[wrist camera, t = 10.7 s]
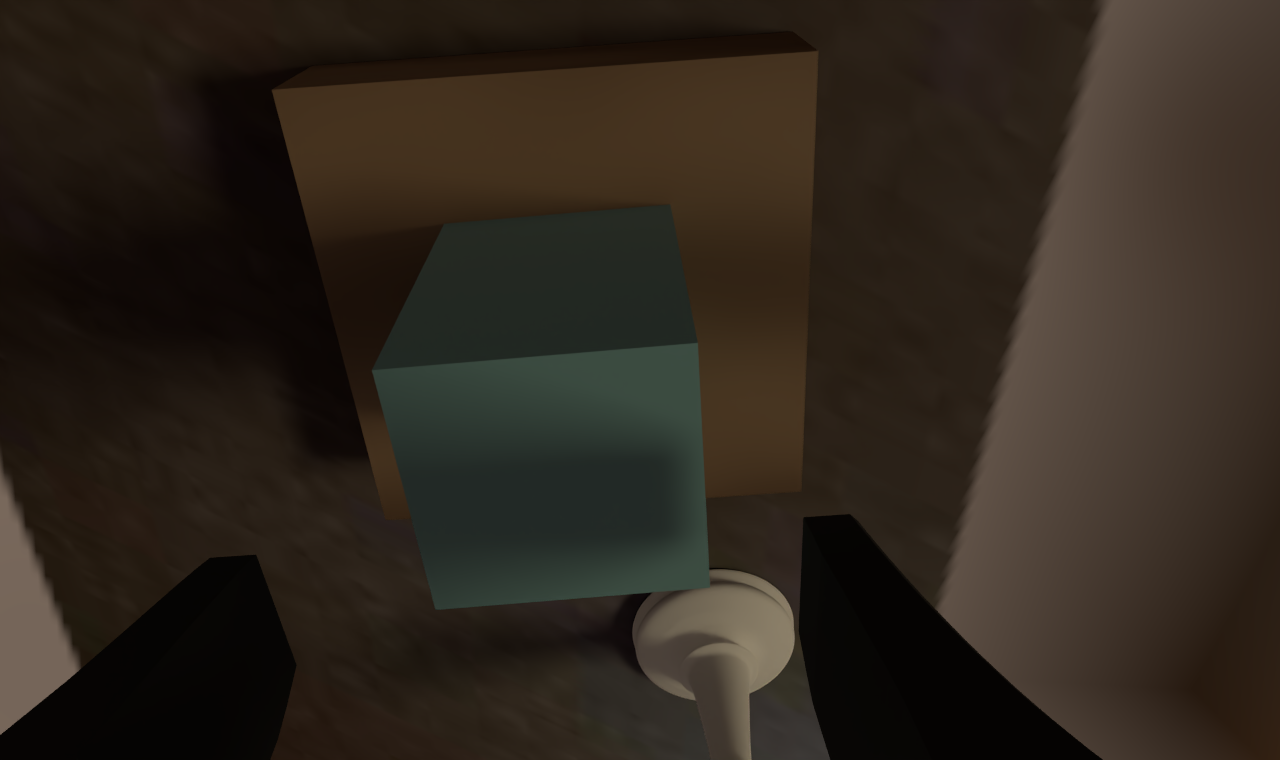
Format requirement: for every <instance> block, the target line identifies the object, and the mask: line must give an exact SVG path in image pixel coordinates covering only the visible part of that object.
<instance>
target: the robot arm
mask: <svg viewBox="0 0 1280 760" xmlns="http://www.w3.org/2000/svg"><path fill="white" fill-rule="evenodd" d="M799 635H800V640H801V646H802V651H803V656H804V661H805V667H806V672H807V677H808V682H809V687H810V692H811V696H812V701H813V705H814V709H815V712H816V715H817V718H818V722H819V725H820V728H821V731H822V734H823V738H824V741H825V744H826V747H827V750H828V754H829V757H830V760H1102V759H1101V758H1100V757H1099V756H1097V755H1096V754H1095V753H1093V752H1092V751H1090V750H1089V749H1088V748H1087V747H1086V746H1084V745H1083V744H1082V743H1081V742H1079V741H1078V740H1077V739H1075V738H1074V737H1073V736H1072V735H1071V734H1069V733H1068V732H1067V731H1066V730H1065V729H1063V728H1062V727H1061V726H1060V725H1058V724H1057V723H1056V722H1055V721H1054V720H1052V719H1051V718H1050V717H1049V716H1048V715H1046V714H1045V713H1044V712H1043V711H1042V710H1041V709H1039V708H1038V707H1037V706H1036V705H1035V704H1034V703H1032V702H1031V701H1030V700H1029V699H1028V698H1027V697H1026V696H1024V695H1023V694H1022V693H1021V692H1020V691H1019V690H1018V689H1016V688H1015V687H1014V686H1013V685H1012V684H1011V683H1010V682H1009V681H1008V680H1007V679H1006V678H1005V677H1004V676H1002V675H1001V674H1000V673H999V672H998V671H997V670H996V669H995V668H994V667H993V666H992V665H991V664H990V663H989V662H987V661H986V660H985V659H984V658H983V657H982V656H981V655H980V654H979V653H978V652H977V651H976V650H975V649H974V648H973V647H972V646H971V645H970V644H969V643H968V642H967V641H966V640H965V639H964V638H963V637H962V636H961V635H960V634H959V633H958V632H957V631H956V630H955V629H954V628H953V627H952V626H951V625H950V624H949V623H948V622H947V621H946V620H945V619H944V618H943V617H942V616H941V615H940V614H939V613H938V611H937V610H936V609H935V608H934V607H933V606H932V605H931V604H930V603H929V602H928V601H927V600H926V599H925V598H924V597H923V596H922V595H921V594H920V592H919V591H918V590H917V589H916V588H915V587H914V586H913V585H912V584H911V583H910V581H909V580H908V579H907V578H906V577H905V576H904V575H903V574H902V572H901V571H900V570H899V569H898V568H897V567H896V566H895V565H894V563H893V562H892V561H891V560H890V559H889V558H888V557H887V555H886V554H885V553H884V552H883V551H882V550H881V548H880V547H879V546H878V545H877V544H876V542H875V541H874V540H873V539H872V538H871V536H870V535H869V534H868V533H867V532H866V530H865V529H864V528H863V527H862V526H861V524H860V523H859V522H858V521H857V520H856V519H855V518H854V517H853V516H851V515H850V514H847V515H832V516H817V517H804V519H803V543H802V566H801V589H800V613H799ZM295 669H296V662H295V660H294V657H293V654H292V652H291V649H290V646H289V643H288V641H287V638H286V635H285V632H284V630H283V627H282V624H281V621H280V619H279V616H278V613H277V611H276V608H275V605H274V602H273V600H272V597H271V594H270V591H269V589H268V586H267V583H266V581H265V578H264V575H263V572H262V570H261V567H260V564H259V561H258V559H257V556H256V555H246V556H231V557H216V558H209V559H208V560H207V561H206V562H204V563H203V564H202V565H201V566H199V567H198V568H197V569H196V570H194V571H193V572H192V573H191V574H190V575H188V576H187V577H186V578H185V579H184V580H182V581H181V582H180V583H179V584H178V585H177V586H175V587H174V588H173V589H172V590H171V591H170V592H169V593H167V594H166V595H165V596H164V597H163V598H162V599H161V600H159V601H158V602H157V603H156V604H155V605H154V606H153V607H151V608H150V609H149V610H148V611H147V612H146V613H145V614H144V615H142V616H141V617H140V618H139V619H138V620H137V621H136V622H134V623H133V624H132V625H131V626H130V627H129V628H128V629H126V630H125V631H124V632H123V633H122V634H121V635H120V636H118V637H117V638H116V639H115V640H114V641H113V642H111V643H110V644H109V645H108V646H107V647H106V648H105V649H103V650H102V651H101V652H100V653H99V654H98V655H96V656H95V657H94V658H93V659H92V660H91V661H90V662H88V663H87V664H86V665H85V666H84V667H83V668H81V669H80V670H79V671H78V672H77V673H76V674H75V675H73V676H72V677H71V678H70V679H69V680H67V682H65V683H64V684H63V685H61V686H60V687H59V688H58V689H56V690H55V691H54V692H53V693H52V694H50V695H49V696H48V697H47V698H45V699H44V700H43V701H42V702H40V703H39V704H38V705H37V706H36V707H34V708H33V709H32V710H31V711H29V712H28V713H27V714H26V715H24V716H23V717H22V718H21V719H20V720H18V721H17V722H16V723H14V725H12V726H11V727H10V728H8V729H7V730H6V731H5V732H3V733H2V734H1V735H0V760H270V759H271V756H272V753H273V751H274V748H275V745H276V743H277V740H278V736H279V733H280V729H281V725H282V722H283V718H284V714H285V711H286V707H287V703H288V699H289V694H290V690H291V686H292V682H293V678H294V673H295Z"/></svg>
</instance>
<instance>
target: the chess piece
mask: <svg viewBox="0 0 1280 760" xmlns="http://www.w3.org/2000/svg"><path fill="white" fill-rule="evenodd" d="M709 578H710V588H700V589H687V590H675V591H663V592H652V593H651V594H650V595H649V596H648V597H647V598H646V600H645V601H644V602H643V603H642V605H641V606H640V608H639V610H638V611H637V613H636V616H635V619H634V622H633V628H632V637H633V643H634V646H635V650H636V656H637V660H638V662H639V665H640V667H641V668H642V670H643V672H644V673H645V674H646V676H647V677H648V678H649V679H650V680H651V681H652V682H653V683H655V684H656V685H657V686H659V687H660V688H662V689H663V690H665V691H667V692H669V693H671V694H674V695H676V696H679V697H683V698H687V699H692V700H696V703H697V707H698V710H699V714H700V718H701V722H702V725H703V729H704V733H705V737H706V741H707V745H708V749H709V754H710V759H711V760H751V747H750V716H749V693H751V692H754V691H756V690H758V689H760V688H761V687H763V686H765V685H766V684H768V683H769V682H770V681H772V680H773V679H774V678H775V677H776V676H777V675H778V674H779V673H780V672H781V671H782V670H783V668H784V667H785V666H786V664H787V662H788V661H789V659H790V656H791V654H792V651H793V647H794V629H793V628H794V621H793V614H792V611H791V608H790V605H789V604H788V602H787V600H786V599H785V597H784V596H783V595H782V593H781V592H780V591H779V590H778V589H776V588H775V587H774V586H773V585H771V584H770V583H769V582H767V581H765V580H763V579H761V578H759V577H757V576H755V575H752V574H749V573H745V572H741V571H736V570H728V569H709Z"/></svg>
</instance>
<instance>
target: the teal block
mask: <svg viewBox="0 0 1280 760" xmlns="http://www.w3.org/2000/svg"><path fill="white" fill-rule="evenodd" d="M372 373H373V376H374V380H375V384H376V388H377V391H378V395H379V399H380V403H381V406H382V410H383V414H384V418H385V421H386V425H387V429H388V433H389V436H390V440H391V444H392V448H393V451H394V455H395V459H396V463H397V466H398V470H399V474H400V478H401V482H402V485H403V489H404V493H405V497H406V500H407V504H408V508H409V512H410V515H411V519H412V523H413V527H414V530H415V534H416V538H417V542H418V545H419V549H420V553H421V557H422V560H423V564H424V568H425V572H426V575H427V579H428V583H429V587H430V590H431V594H432V598H433V602H434V605H435V609H436V610H440V609H452V608H464V607H477V606H489V605H502V604H514V603H526V602H539V601H551V600H563V599H576V598H588V597H601V596H613V595H625V594H638V593H650V592H663V591H675V590H687V589H700V588H710V578H709V558H708V538H707V518H706V497H705V477H704V457H703V437H702V417H701V397H700V376H699V356H698V341H697V336H696V331H695V326H694V321H693V316H692V311H691V306H690V301H689V296H688V291H687V286H686V281H685V276H684V271H683V266H682V261H681V256H680V250H679V245H678V240H677V235H676V230H675V225H674V220H673V215H672V210H671V205H658V206H646V207H635V208H623V209H611V210H599V211H588V212H576V213H564V214H553V215H541V216H529V217H518V218H506V219H494V220H482V221H471V222H459V223H447V224H444V225H443V227H442V229H441V231H440V233H439V235H438V237H437V239H436V241H435V243H434V245H433V247H432V250H431V252H430V254H429V256H428V258H427V260H426V262H425V264H424V266H423V268H422V270H421V272H420V274H419V276H418V278H417V280H416V282H415V284H414V286H413V288H412V290H411V292H410V294H409V296H408V298H407V300H406V302H405V304H404V306H403V308H402V310H401V312H400V314H399V316H398V318H397V320H396V322H395V324H394V326H393V328H392V331H391V333H390V335H389V337H388V339H387V341H386V343H385V345H384V347H383V349H382V351H381V353H380V355H379V357H378V359H377V361H376V363H375V365H374V367H373V369H372Z"/></svg>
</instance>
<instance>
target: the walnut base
mask: <svg viewBox="0 0 1280 760" xmlns="http://www.w3.org/2000/svg"><path fill="white" fill-rule="evenodd" d="M817 74H818V50H816V49H815V48H814V47H812V46H811V45H810V44H808V43H807V42H806V41H804V40H803V39H802V38H801V37H799V36H798V35H797V34H795V33H794V32H780V33H766V34H752V35H738V36H724V37H710V38H696V39H682V40H668V41H653V42H639V43H625V44H611V45H597V46H583V47H569V48H555V49H540V50H526V51H512V52H498V53H484V54H470V55H456V56H442V57H427V58H413V59H399V60H385V61H371V62H357V63H343V64H329V65H314V66H311V67H309V68H308V69H306V70H304V71H303V72H301V73H299V74H298V75H296V76H294V77H292V78H291V79H289V80H287V81H286V82H284V83H282V84H281V85H279V86H277V87H275V88H274V89H272V93H273V97H274V100H275V104H276V108H277V112H278V115H279V119H280V123H281V127H282V131H283V134H284V138H285V142H286V146H287V149H288V153H289V157H290V161H291V164H292V168H293V172H294V176H295V180H296V183H297V187H298V191H299V195H300V198H301V202H302V206H303V210H304V214H305V217H306V221H307V225H308V229H309V232H310V236H311V240H312V244H313V247H314V251H315V255H316V259H317V263H318V266H319V270H320V274H321V278H322V281H323V285H324V289H325V293H326V297H327V300H328V304H329V308H330V312H331V315H332V319H333V323H334V327H335V330H336V334H337V338H338V342H339V346H340V349H341V353H342V357H343V361H344V364H345V368H346V372H347V376H348V380H349V383H350V387H351V391H352V395H353V398H354V402H355V406H356V410H357V413H358V417H359V421H360V425H361V429H362V432H363V436H364V440H365V444H366V447H367V451H368V455H369V459H370V462H371V466H372V470H373V474H374V478H375V481H376V485H377V489H378V493H379V496H380V500H381V504H382V508H383V512H384V515H385V519H386V520H395V519H410V518H411V515H410V512H409V508H408V504H407V500H406V497H405V493H404V489H403V485H402V482H401V478H400V474H399V470H398V466H397V463H396V459H395V455H394V451H393V448H392V444H391V440H390V436H389V433H388V429H387V425H386V421H385V418H384V414H383V410H382V406H381V403H380V399H379V395H378V391H377V388H376V384H375V380H374V376H373V373H372V369H373V367H374V365H375V363H376V361H377V359H378V357H379V355H380V353H381V351H382V349H383V347H384V345H385V343H386V341H387V339H388V337H389V335H390V333H391V331H392V328H393V326H394V324H395V322H396V320H397V318H398V316H399V314H400V312H401V310H402V308H403V306H404V304H405V302H406V300H407V298H408V296H409V294H410V292H411V290H412V288H413V286H414V284H415V282H416V280H417V278H418V276H419V274H420V272H421V270H422V268H423V266H424V264H425V262H426V260H427V258H428V256H429V254H430V252H431V250H432V247H433V245H434V243H435V241H436V239H437V237H438V235H439V233H440V231H441V229H442V227H443V225H444V224H447V223H459V222H471V221H482V220H494V219H506V218H518V217H529V216H541V215H553V214H564V213H576V212H588V211H599V210H611V209H623V208H635V207H646V206H658V205H671V210H672V215H673V220H674V225H675V230H676V235H677V240H678V245H679V250H680V256H681V261H682V266H683V271H684V276H685V281H686V286H687V291H688V296H689V301H690V306H691V311H692V316H693V321H694V326H695V331H696V336H697V341H698V356H699V376H700V397H701V417H702V437H703V457H704V477H705V497H706V498H713V497H727V496H742V495H756V494H770V493H785V492H799V491H801V486H802V460H803V435H804V409H805V383H806V357H807V332H808V306H809V280H810V254H811V229H812V203H813V177H814V152H815V126H816V100H817Z"/></svg>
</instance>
